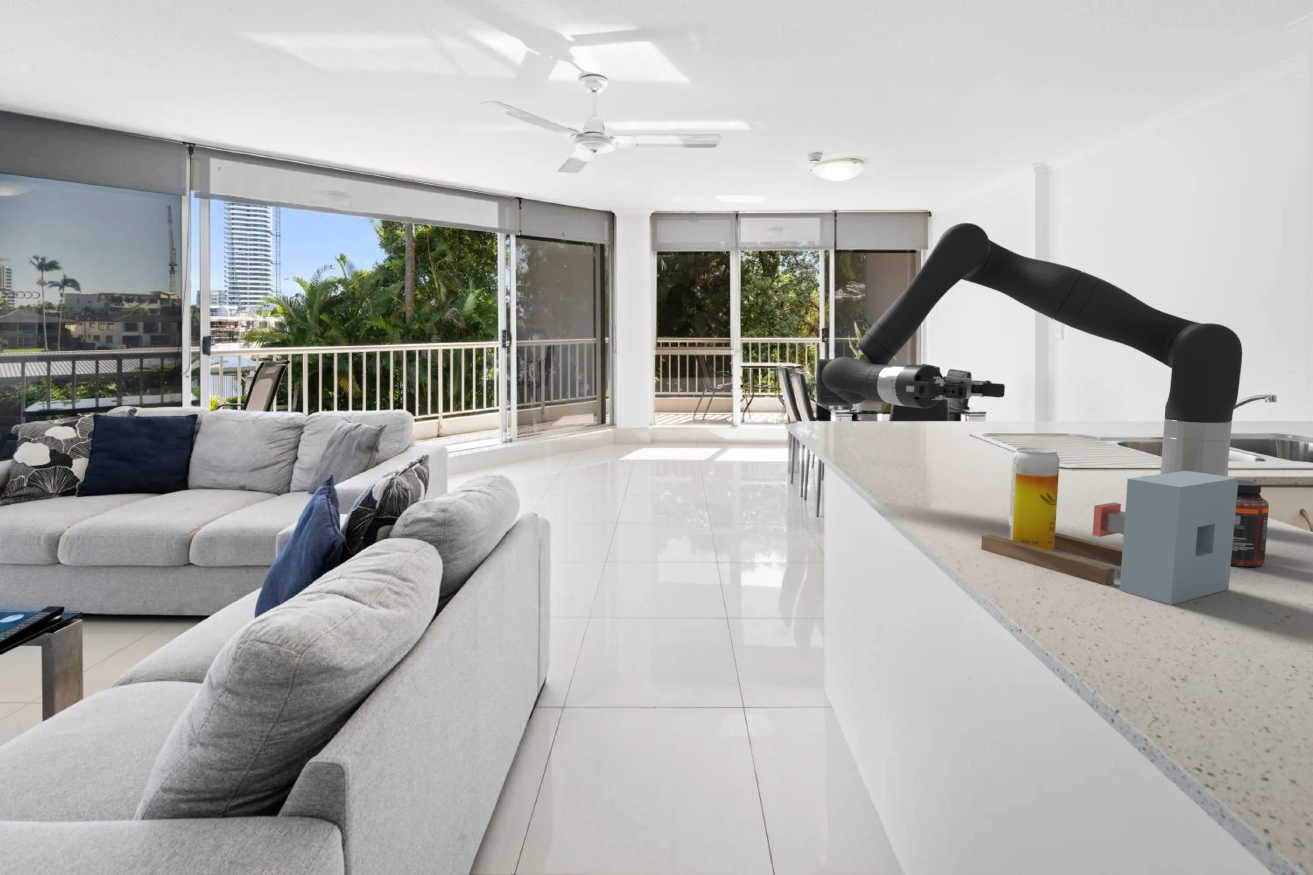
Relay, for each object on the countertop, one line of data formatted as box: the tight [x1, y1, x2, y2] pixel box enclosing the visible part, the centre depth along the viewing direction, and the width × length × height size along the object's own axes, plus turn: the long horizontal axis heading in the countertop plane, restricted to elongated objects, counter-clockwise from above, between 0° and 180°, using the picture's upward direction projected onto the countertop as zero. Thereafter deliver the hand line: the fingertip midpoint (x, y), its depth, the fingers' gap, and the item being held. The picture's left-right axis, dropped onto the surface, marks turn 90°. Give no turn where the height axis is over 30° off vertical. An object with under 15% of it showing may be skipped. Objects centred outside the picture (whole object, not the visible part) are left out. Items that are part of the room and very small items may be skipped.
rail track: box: [980, 532, 1123, 586], centre depth 106 cm, size 11×19×2 cm, turn 26°
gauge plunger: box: [1092, 502, 1125, 538], centre depth 96 cm, size 4×10×4 cm, turn 26°
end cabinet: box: [1119, 471, 1240, 606], centre depth 92 cm, size 12×6×14 cm, turn 116°
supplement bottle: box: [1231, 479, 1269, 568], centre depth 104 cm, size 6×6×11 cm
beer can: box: [1007, 446, 1061, 551], centre depth 110 cm, size 6×6×15 cm
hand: (984, 391), depth 120 cm, fingers open, 8 cm apart
